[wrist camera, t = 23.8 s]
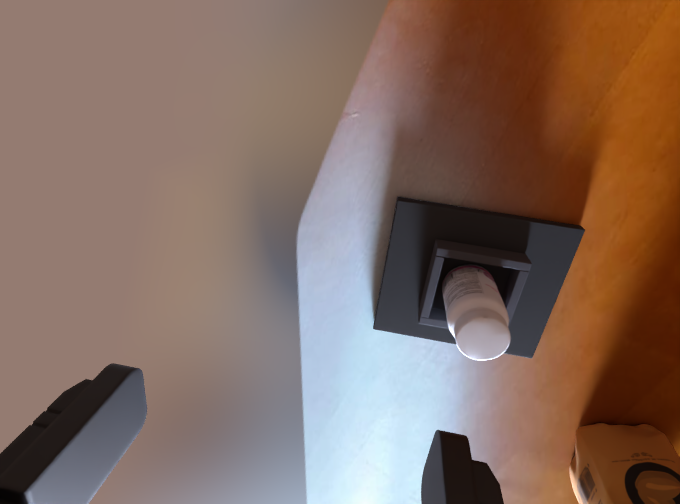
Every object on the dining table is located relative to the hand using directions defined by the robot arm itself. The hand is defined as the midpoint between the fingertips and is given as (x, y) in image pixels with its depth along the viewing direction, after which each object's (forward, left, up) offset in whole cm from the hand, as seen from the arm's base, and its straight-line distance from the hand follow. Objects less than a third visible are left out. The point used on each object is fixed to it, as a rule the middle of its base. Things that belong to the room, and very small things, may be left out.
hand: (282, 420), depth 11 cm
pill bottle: (+11, -9, -27) cm, 31 cm away
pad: (+11, -9, -28) cm, 31 cm away
